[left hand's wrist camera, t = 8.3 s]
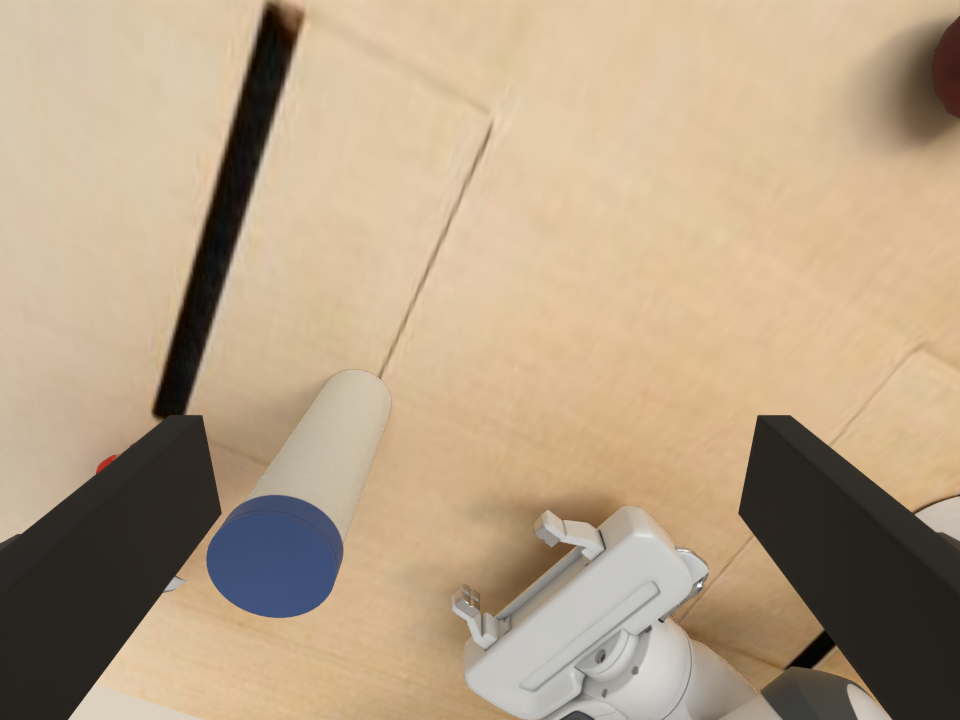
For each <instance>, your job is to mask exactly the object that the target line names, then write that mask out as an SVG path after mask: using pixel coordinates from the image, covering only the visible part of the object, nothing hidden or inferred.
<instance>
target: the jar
mask: <svg viewBox="0 0 960 720" xmlns="http://www.w3.org/2000/svg"><path fill="white" fill-rule="evenodd" d="M391 406H392V402H391V396H390V393H389V391H388V389H387V387H386V386H385V384H384V383H383V382H382V381H381V380H380V379H379V378H378V377H376V376H375V375H373V374H371V373H369V372H366V371H362V370H345V371H342V372H339V373H337V374H336V375H334V376H333V377H331V378H330V379H329V380H328V382H327V383H326V385H325V386H324V387H323V389H322V390H321V392H320V393H319V395H318V396H317V397H316V399H315V400H314V402H313V403H312V405H311V406H310V408H309V409H308V410H307V412H306V413H305V415H304V416H303V418H302V419H301V421H300V422H299V423H298V425H297V426H296V428H295V429H294V431H293V432H292V433H291V435H290V436H289V438H288V439H287V441H286V442H285V444H284V445H283V446H282V448H281V449H280V451H279V452H278V454H277V455H276V457H275V458H274V459H273V461H272V462H271V464H270V465H269V467H268V468H267V469H266V471H265V472H264V474H263V475H262V477H261V478H260V480H259V481H258V482H257V484H256V485H255V487H254V488H253V490H252V491H251V493H250V494H249V495H248V497H247V498H246V500H245V501H244V502H246V501H248V500H250V499H253V498H256V497H260V496H266V495H285V496H290V497H295V498H298V499H301V500H304V501H306V502H308V503H311V504H312V505H314V506H316V507H317V508H319V509H320V510H321V511H323V512H324V513H325V514H326V515H327V516H328V517H329V518H330V519H331V520H332V521H333V523H334V524H335V526H336V527H337V529H338V531H339V533H340V535H341V539H342V542H343V544H344V541H345V538H346V535H347V532H348V530H349V527H350V524H351V521H352V518H353V516H354V513H355V510H356V507H357V504H358V502H359V499H360V496H361V493H362V490H363V488H364V485H365V482H366V479H367V476H368V473H369V471H370V468H371V465H372V462H373V459H374V457H375V454H376V451H377V448H378V445H379V443H380V440H381V437H382V434H383V431H384V429H385V426H386V423H387V420H388V417H389V415H390V412H391Z"/></svg>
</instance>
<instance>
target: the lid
mask: <svg viewBox="0 0 960 720" xmlns="http://www.w3.org/2000/svg"><path fill="white" fill-rule="evenodd" d="M342 558H343V542H342V539H341V535H340V533H339V531H338V529H337V527H336V526H335V524H334V523H333V521H332V520H331V519H330V518H329V517H328V516H327V515H326V514H325V513H324V512H323V511H321V510H320V509H319V508H317V507H316V506H314V505H312V504H311V503H308V502H306V501H304V500H301V499H298V498H295V497H290V496H285V495H266V496H260V497H256V498H253V499H250V500H248V501H246V502H244V503H242V504H241V505H239V506H238V507H237V508H235V509H234V510H233V511H232V512H231V513H230V515H229V516H228V518H227V519H226V520H225V522H224V523H223V525H222V526H221V527H220V529H219V530H218V532H217V533H216V534H215V536H214V537H213V539H212V540H211V542H210V544H209V547H208V551H207V558H206V560H207V569H208V573H209V575H210V578H211V580H212V582H213V583H214V585H215V587H216V588H217V589H218V591H219V592H220V593H221V594H222V595H223V596H224V597H225V598H226V599H228V600H229V601H230V602H231V603H233V604H234V605H236V606H238V607H239V608H241V609H243V610H245V611H248V612H250V613H253V614H257V615H260V616H265V617H274V618H285V617H293V616H298V615H301V614H304V613H307V612H309V611H311V610H313V609H314V608H316V607H317V606H319V605H320V604H321V603H322V602H323V601H324V600H325V599H326V598H327V597H328V596H329V594H330V592H331V591H332V588H333V586H334V583H335V580H336V577H337V574H338V571H339V568H340V565H341V563H342Z"/></svg>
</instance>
